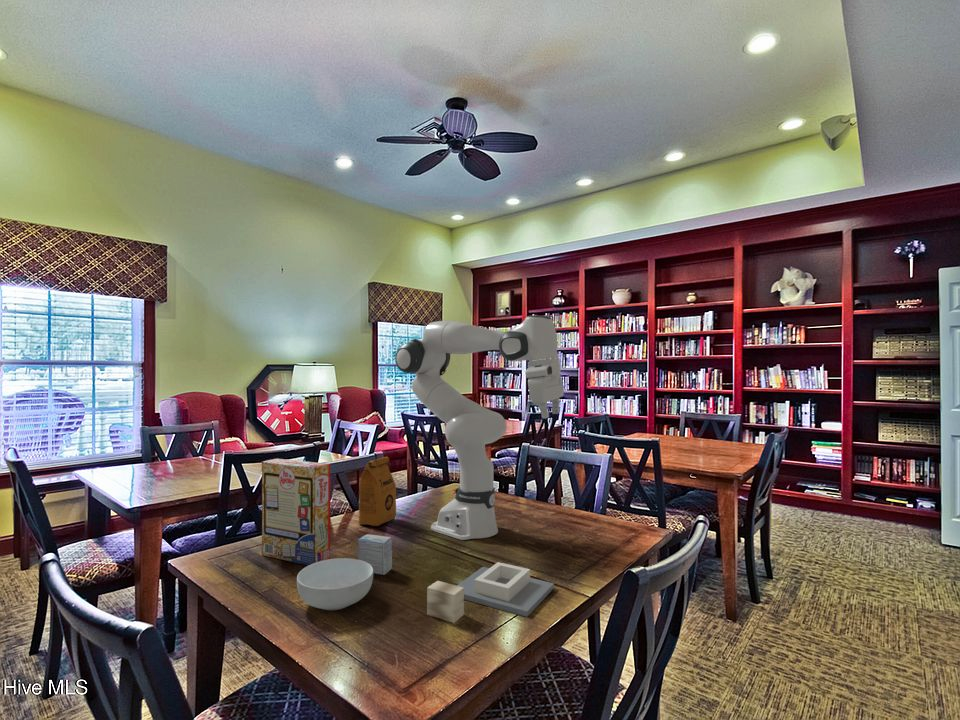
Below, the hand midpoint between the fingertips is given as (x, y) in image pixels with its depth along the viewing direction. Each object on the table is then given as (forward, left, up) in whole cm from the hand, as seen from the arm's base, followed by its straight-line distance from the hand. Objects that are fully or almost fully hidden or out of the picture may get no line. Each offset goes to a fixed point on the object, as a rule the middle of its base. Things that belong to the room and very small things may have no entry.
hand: (550, 415), depth 148 cm
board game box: (-60, -41, -40) cm, 83 cm away
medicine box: (-35, -36, -40) cm, 64 cm away
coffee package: (-61, -5, -40) cm, 73 cm away
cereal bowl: (-31, -54, -40) cm, 74 cm away
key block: (-6, -46, -40) cm, 61 cm away
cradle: (0, -30, -40) cm, 50 cm away
